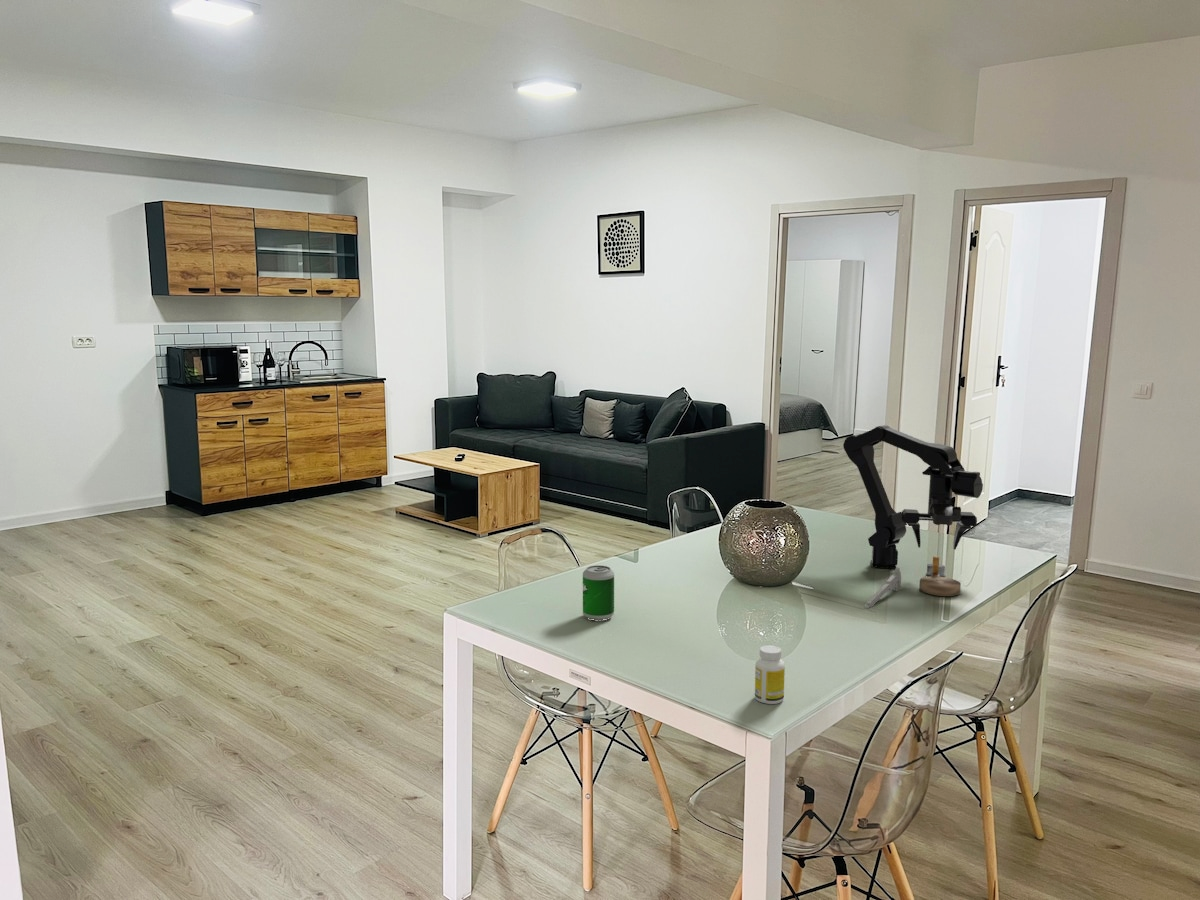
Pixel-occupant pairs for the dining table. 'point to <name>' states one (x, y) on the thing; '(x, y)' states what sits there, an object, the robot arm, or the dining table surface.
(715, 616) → the dining table surface
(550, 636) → the dining table surface
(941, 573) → the cover
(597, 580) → the soda can
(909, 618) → the dining table surface
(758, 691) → the supplement bottle
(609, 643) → the dining table surface
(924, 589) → the turntable
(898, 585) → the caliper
